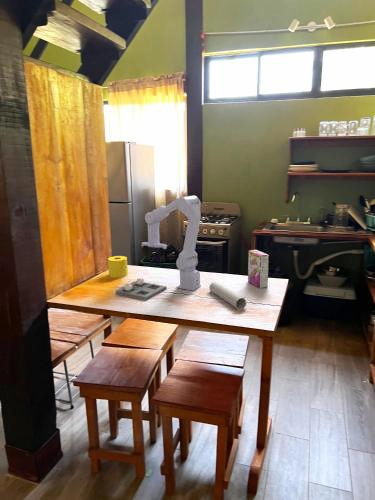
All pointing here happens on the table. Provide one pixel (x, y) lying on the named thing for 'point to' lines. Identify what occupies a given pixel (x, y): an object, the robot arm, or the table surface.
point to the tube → (228, 295)
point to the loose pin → (140, 282)
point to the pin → (128, 288)
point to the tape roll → (117, 266)
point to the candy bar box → (258, 268)
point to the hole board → (142, 291)
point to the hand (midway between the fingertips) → (154, 260)
